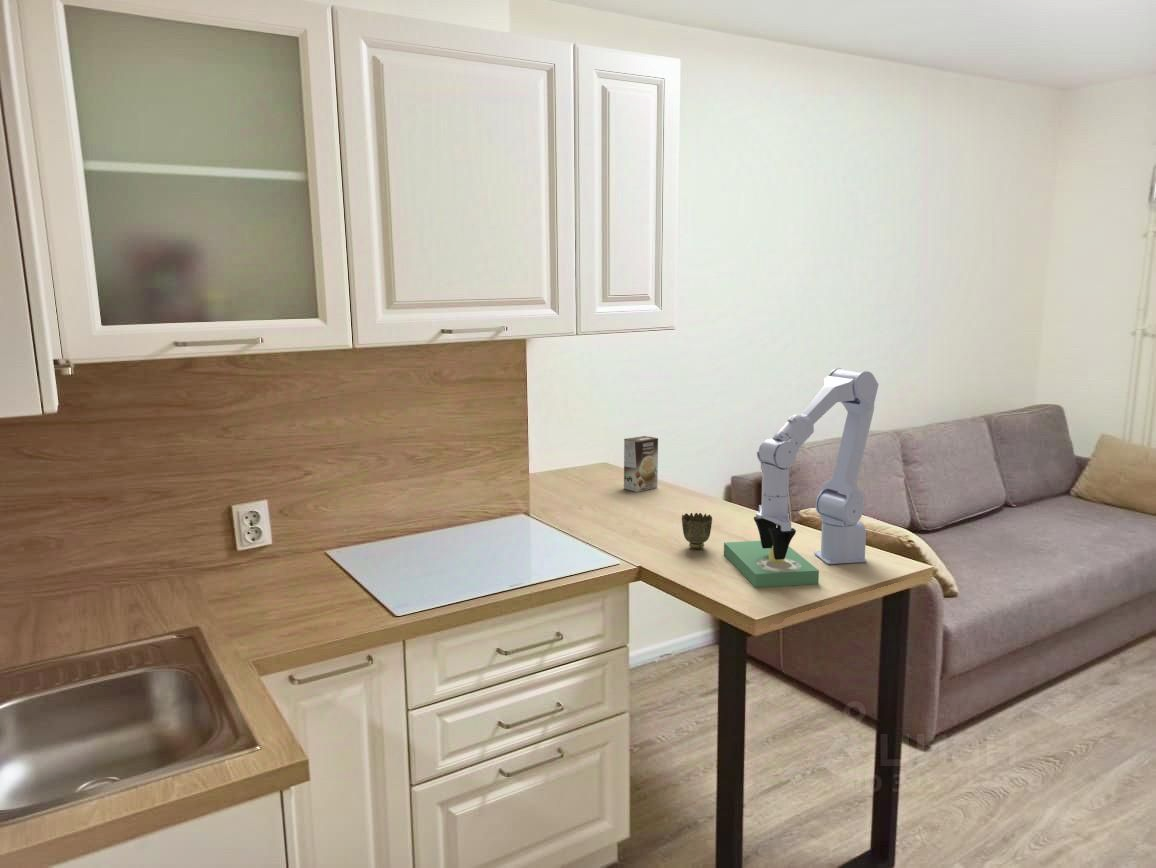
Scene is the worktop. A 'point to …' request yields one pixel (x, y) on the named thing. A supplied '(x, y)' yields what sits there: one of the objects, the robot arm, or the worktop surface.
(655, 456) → the coffee box
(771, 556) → the ball
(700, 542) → the cup
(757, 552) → the green rectangular slab
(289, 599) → the worktop surface
